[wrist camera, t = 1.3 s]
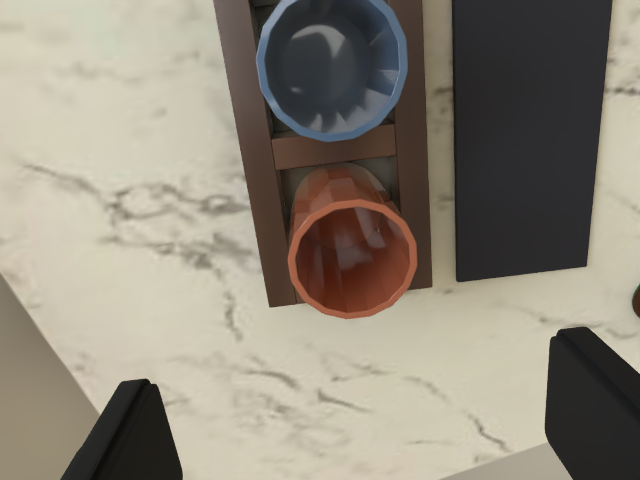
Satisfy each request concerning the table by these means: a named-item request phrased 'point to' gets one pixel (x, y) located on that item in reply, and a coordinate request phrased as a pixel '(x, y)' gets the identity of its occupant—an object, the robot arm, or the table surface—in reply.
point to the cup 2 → (348, 243)
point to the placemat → (526, 132)
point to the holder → (324, 144)
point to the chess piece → (637, 302)
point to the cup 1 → (332, 65)
